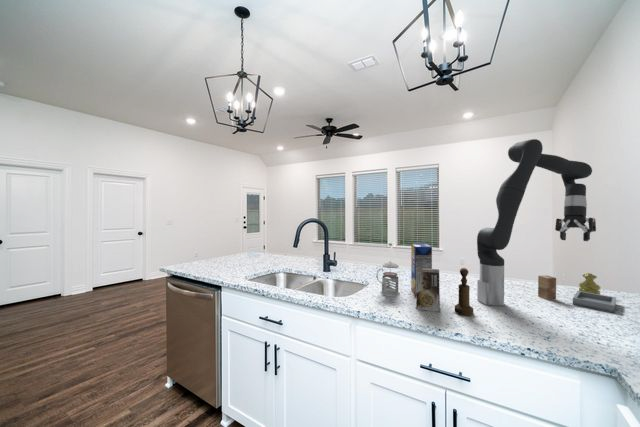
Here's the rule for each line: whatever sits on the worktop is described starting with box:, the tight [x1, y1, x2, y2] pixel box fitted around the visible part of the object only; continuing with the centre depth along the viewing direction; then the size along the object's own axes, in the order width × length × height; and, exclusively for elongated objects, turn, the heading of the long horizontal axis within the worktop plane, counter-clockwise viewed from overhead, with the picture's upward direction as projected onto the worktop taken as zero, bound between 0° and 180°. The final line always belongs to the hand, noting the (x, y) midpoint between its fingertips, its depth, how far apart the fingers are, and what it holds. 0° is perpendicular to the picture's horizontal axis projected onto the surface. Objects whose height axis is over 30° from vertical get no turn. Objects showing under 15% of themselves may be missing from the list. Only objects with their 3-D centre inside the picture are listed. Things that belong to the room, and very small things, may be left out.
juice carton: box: [410, 243, 433, 298], centre depth 130 cm, size 12×8×24 cm, turn 169°
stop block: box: [537, 275, 557, 301], centre depth 123 cm, size 4×4×10 cm
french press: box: [375, 242, 401, 297], centre depth 131 cm, size 10×12×25 cm
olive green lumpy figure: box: [578, 272, 601, 295], centre depth 129 cm, size 7×7×10 cm
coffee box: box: [415, 268, 441, 312], centre depth 111 cm, size 9×6×16 cm
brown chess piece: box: [454, 267, 474, 317], centre depth 106 cm, size 7×6×18 cm
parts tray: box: [572, 290, 617, 314], centre depth 115 cm, size 15×12×3 cm
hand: (574, 240), depth 122 cm, fingers open, 8 cm apart
